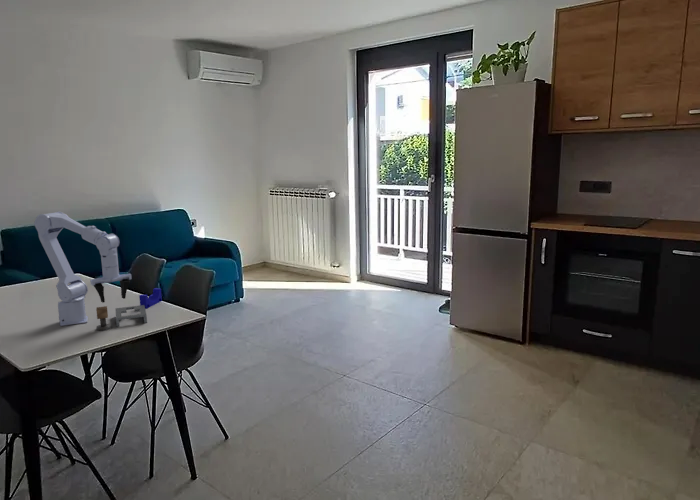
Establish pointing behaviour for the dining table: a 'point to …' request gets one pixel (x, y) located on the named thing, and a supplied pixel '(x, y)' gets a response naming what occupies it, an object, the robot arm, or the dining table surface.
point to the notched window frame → (136, 308)
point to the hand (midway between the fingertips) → (113, 299)
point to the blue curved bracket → (151, 298)
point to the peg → (102, 318)
